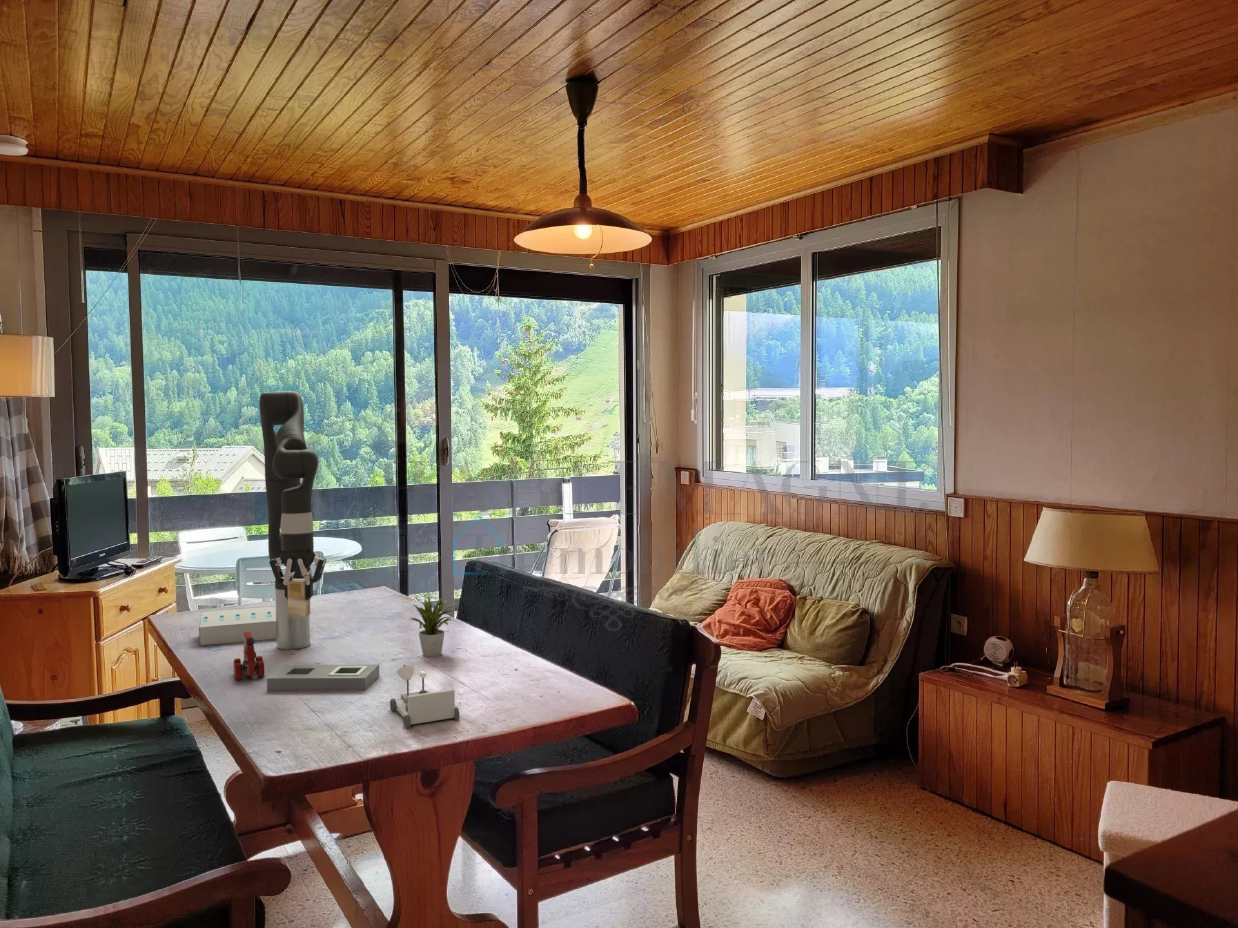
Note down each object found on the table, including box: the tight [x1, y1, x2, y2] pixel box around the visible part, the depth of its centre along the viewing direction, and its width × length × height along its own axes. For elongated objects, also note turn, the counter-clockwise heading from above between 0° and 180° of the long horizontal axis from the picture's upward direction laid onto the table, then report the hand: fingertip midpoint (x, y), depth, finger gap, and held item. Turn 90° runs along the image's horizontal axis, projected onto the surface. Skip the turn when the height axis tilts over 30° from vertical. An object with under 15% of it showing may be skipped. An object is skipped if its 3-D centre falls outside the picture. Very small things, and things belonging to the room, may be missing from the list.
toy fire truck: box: [233, 632, 265, 681], centre depth 231 cm, size 7×12×10 cm, turn 26°
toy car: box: [389, 664, 461, 729], centre depth 200 cm, size 18×10×12 cm
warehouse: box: [198, 605, 276, 646], centre depth 275 cm, size 30×14×8 cm, turn 112°
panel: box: [266, 664, 380, 691], centre depth 224 cm, size 12×24×3 cm, turn 89°
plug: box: [287, 579, 311, 618], centre depth 222 cm, size 5×4×9 cm
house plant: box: [408, 596, 459, 658], centre depth 249 cm, size 14×14×16 cm
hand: (298, 598), depth 223 cm, fingers closed on plug, 4 cm apart
